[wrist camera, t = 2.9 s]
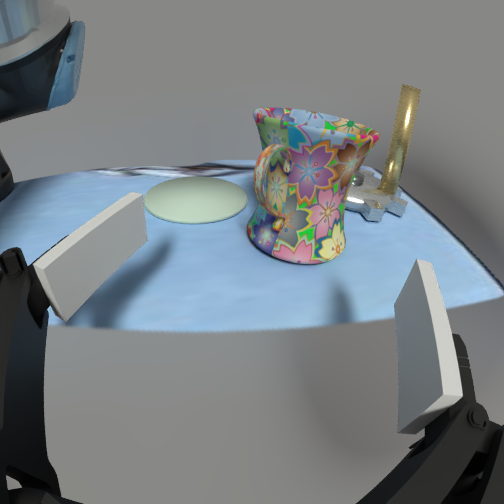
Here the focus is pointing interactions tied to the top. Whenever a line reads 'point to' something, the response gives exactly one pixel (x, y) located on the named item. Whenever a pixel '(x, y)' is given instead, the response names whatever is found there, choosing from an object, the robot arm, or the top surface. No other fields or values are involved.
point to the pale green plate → (195, 200)
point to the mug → (305, 182)
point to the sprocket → (387, 167)
